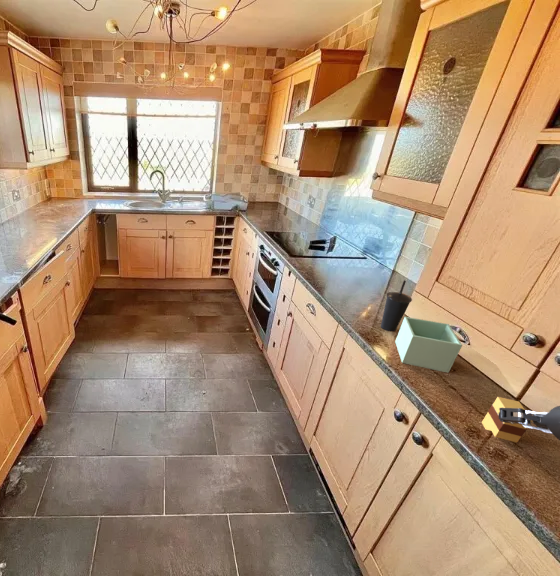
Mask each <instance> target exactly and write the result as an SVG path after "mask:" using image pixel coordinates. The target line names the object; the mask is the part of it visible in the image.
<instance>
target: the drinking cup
mask: <svg viewBox="0 0 560 576" xmlns="http://www.w3.org/2000/svg"><path fill="white" fill-rule="evenodd" d="M402 281H403V282H402V284H401V287H400V290H399V291H390V292H387V293H386V300H385V304H384V308H383V315H382V319H381V323H380V328H381V329H382V330H384V331H386V332H390V333H391V332H392V333H393V332H395V331H396V330H397V328H398V326H399V325H400V323H401V321H402V319H403V317H404V315H405V313H406V311H407V309H408V307H409V305H410V303H411V302H413V298H412V296H409V295H408V294H406V293H403V291H404V288H405V286H406V283H407V280H405V279H404V280H402Z"/></svg>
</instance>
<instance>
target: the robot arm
mask: <svg viewBox="0 0 560 576" xmlns="http://www.w3.org/2000/svg"><path fill="white" fill-rule="evenodd" d="M524 409H525V408H524ZM524 409H522V408H519V409H518V408H499V410H500V412H499V419H500V421H501V422H505V423H512V424H514V423H515V424H520V425H523V426H524V427H526V428H527V430H528V429H529V430H534V431H539V432H543V433H546V434H549V435H553V436H554V437H555V438H556V439H557V440H558V441H560V405H557V406H555V407H552V408H551V409H550V410H549V411H541V412H539V411H535V410H534V411H533V410H527V409H525V410H524ZM531 421H532V423H533V424H534V425H535V426H534V425H532V423H531Z"/></svg>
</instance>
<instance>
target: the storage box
mask: <svg viewBox="0 0 560 576" xmlns="http://www.w3.org/2000/svg"><path fill="white" fill-rule="evenodd" d="M403 317H404V318H403V320H402V323H401V325H400V327H399V330H398V333H397V336H396V339H395V341H394V343H395V346H396V349H397V352H398V354H399V359H400V361H401V363H402V364H406V365H410V366H414V367H419V368H423V369H429V370H433V371H437V372H443V373H447V374H448V373H449V372H450V371H451V369H452V367H453V366H454V363H455V361H456V359H457V357H458V355H459V353H460V351H461V349H462V347H463V344H462V343H461V341H460V339H459V338H458V336H457V334H456V333H455V331H454V330H453V328H452V326H451V325H450V324H449V323H444V322H439V321H433V320H427V319H421V318H415V317H410V316H403Z"/></svg>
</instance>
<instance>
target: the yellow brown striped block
mask: <svg viewBox="0 0 560 576" xmlns="http://www.w3.org/2000/svg"><path fill="white" fill-rule="evenodd" d="M499 408H518V409H519V408H522V409H524V410H526V409H525V408H524V406H523V405H522V404H521V402H520V401H518V400H515V399H509V398H505V397H501V396H497V397H496V399H494V402H493V403H492V404H491V406H490V407H489V409H488V410H487V413H486V415H485V416H484V418H483V419H482V421H481V424H482V426H483V427H484V429H485V430H486V431H491V432H492V434H493V436H494V438H498V439H501V440H505V441H509V442H512V443H518V442H519V440H520V439H521V438H522V437H523V436H524V434H526V432H527V431H528V428H526V427H524V426H523V425H520V424H515V423H514V424H512V423H505V422H501V421H500V419H499V412H500V410H499ZM532 423H533V421H531V424H532Z"/></svg>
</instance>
